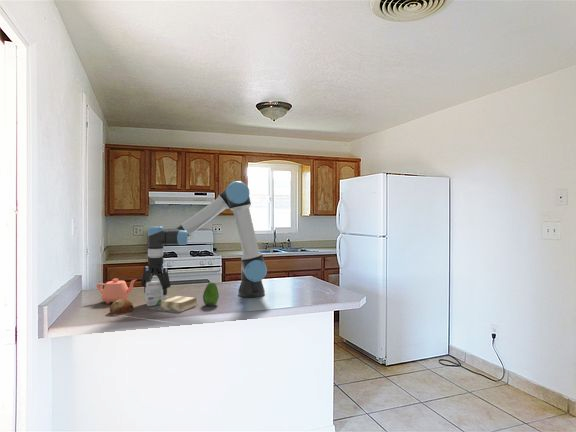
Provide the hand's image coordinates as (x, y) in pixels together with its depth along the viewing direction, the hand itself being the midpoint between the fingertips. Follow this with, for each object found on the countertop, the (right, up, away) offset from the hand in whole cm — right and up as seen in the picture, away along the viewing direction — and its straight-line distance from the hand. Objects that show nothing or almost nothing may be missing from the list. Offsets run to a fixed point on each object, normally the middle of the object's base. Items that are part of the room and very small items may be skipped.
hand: (155, 300), depth 196 cm
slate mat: (+11, -2, -5) cm, 12 cm away
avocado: (+29, -3, -2) cm, 29 cm away
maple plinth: (+14, -2, -7) cm, 15 cm away
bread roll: (-11, -3, -13) cm, 18 cm away
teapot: (-23, -2, +7) cm, 24 cm away
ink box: (0, -2, 0) cm, 2 cm away
